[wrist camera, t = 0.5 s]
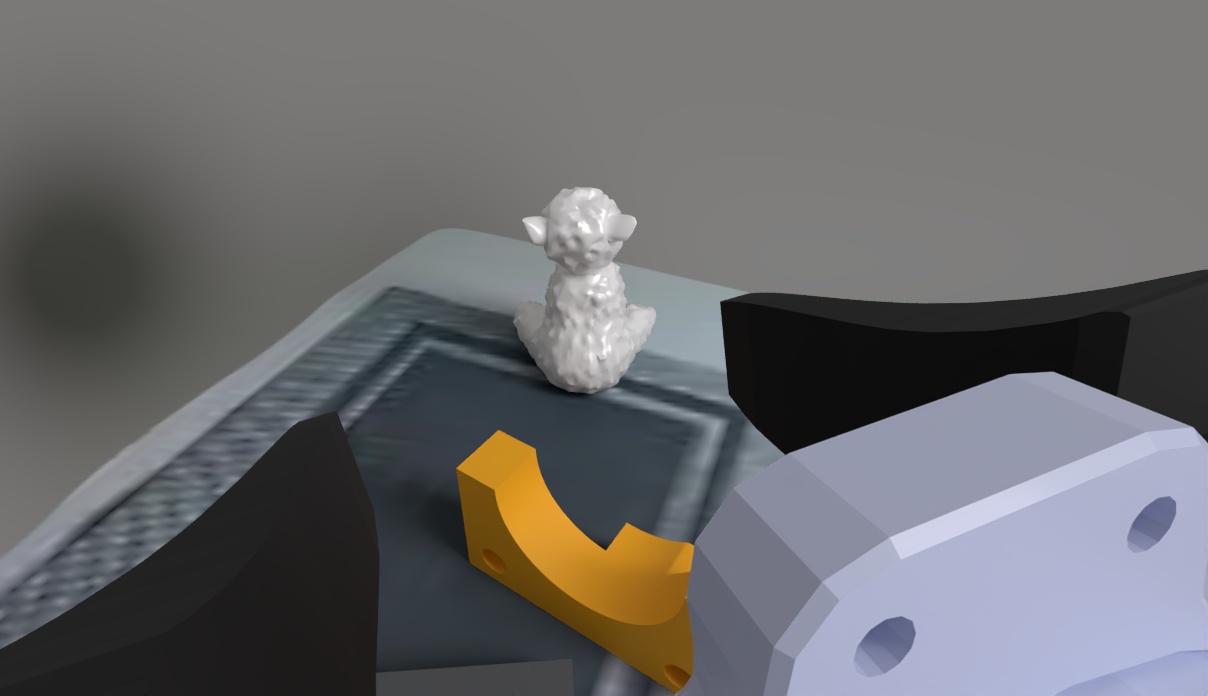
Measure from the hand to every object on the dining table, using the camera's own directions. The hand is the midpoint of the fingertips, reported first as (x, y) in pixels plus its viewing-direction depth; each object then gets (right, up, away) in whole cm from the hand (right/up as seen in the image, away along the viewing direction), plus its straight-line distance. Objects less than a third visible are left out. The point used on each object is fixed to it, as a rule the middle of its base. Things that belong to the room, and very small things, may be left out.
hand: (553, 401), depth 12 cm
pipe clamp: (+1, -10, +17) cm, 20 cm away
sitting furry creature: (0, 0, +30) cm, 30 cm away
